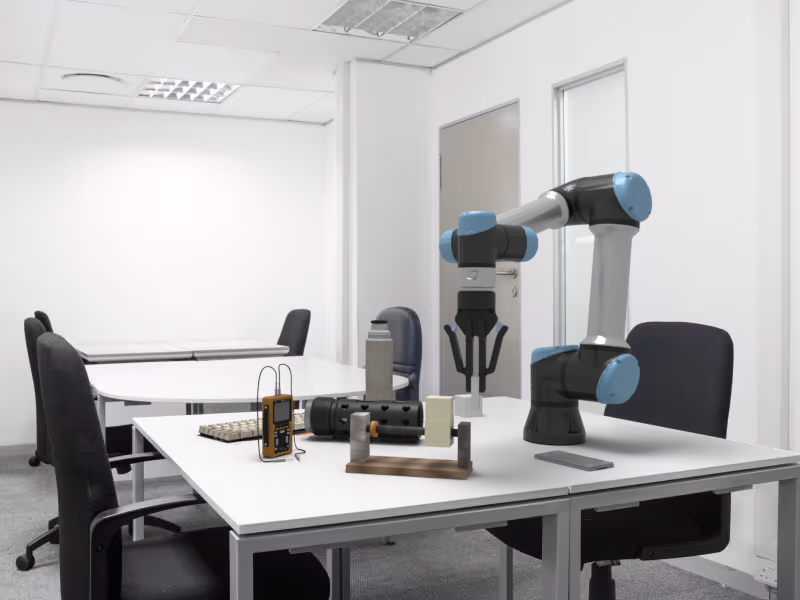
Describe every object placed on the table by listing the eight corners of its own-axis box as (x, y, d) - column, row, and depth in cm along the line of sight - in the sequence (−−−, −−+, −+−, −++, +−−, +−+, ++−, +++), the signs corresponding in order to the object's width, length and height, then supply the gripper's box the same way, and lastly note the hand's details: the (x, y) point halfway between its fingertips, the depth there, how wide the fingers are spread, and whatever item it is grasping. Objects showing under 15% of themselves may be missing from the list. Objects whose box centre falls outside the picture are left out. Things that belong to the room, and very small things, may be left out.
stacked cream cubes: (453, 442, 158) (454, 396, 158) (449, 447, 154) (450, 399, 154) (429, 441, 160) (429, 395, 160) (424, 446, 155) (424, 398, 155)
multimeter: (286, 466, 161) (286, 369, 161) (249, 460, 167) (250, 366, 167) (329, 453, 174) (329, 363, 174) (294, 448, 179) (294, 361, 179)
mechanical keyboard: (233, 448, 183) (233, 433, 183) (192, 437, 196) (192, 424, 196) (355, 429, 209) (355, 417, 209) (311, 421, 223) (311, 409, 223)
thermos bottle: (392, 414, 232) (393, 319, 232) (392, 418, 224) (392, 320, 224) (365, 414, 232) (366, 319, 232) (364, 418, 224) (365, 320, 224)
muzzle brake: (416, 447, 183) (417, 403, 183) (302, 441, 189) (302, 399, 188) (423, 439, 192) (424, 397, 192) (314, 434, 198) (314, 394, 198)
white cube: (454, 415, 231) (454, 395, 231) (471, 414, 234) (471, 394, 234) (464, 418, 226) (464, 397, 226) (482, 416, 228) (482, 396, 228)
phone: (588, 474, 158) (588, 467, 158) (532, 460, 171) (532, 454, 171) (615, 469, 163) (615, 462, 163) (558, 455, 176) (558, 450, 176)
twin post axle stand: (472, 468, 160) (472, 414, 160) (465, 479, 150) (465, 422, 150) (359, 461, 166) (360, 409, 166) (345, 472, 156) (346, 417, 156)
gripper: (440, 289, 153) (439, 410, 153) (507, 289, 150) (506, 413, 150) (447, 289, 160) (446, 405, 160) (511, 290, 157) (510, 407, 157)
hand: (475, 408), depth 155 cm, fingers closed
